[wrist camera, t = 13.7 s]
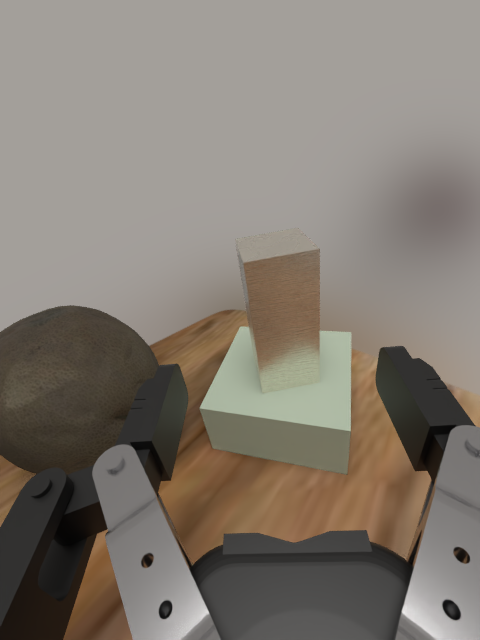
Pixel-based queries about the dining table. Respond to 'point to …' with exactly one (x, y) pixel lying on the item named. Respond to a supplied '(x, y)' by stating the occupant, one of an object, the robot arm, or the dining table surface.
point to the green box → (283, 409)
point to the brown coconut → (67, 386)
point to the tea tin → (282, 306)
